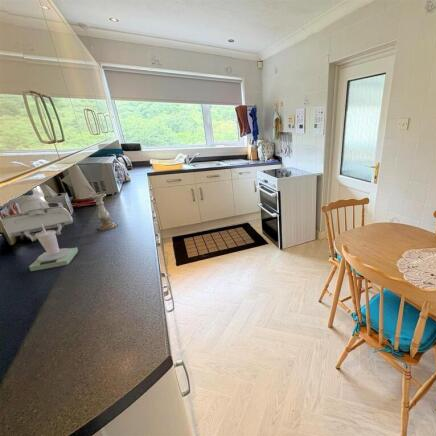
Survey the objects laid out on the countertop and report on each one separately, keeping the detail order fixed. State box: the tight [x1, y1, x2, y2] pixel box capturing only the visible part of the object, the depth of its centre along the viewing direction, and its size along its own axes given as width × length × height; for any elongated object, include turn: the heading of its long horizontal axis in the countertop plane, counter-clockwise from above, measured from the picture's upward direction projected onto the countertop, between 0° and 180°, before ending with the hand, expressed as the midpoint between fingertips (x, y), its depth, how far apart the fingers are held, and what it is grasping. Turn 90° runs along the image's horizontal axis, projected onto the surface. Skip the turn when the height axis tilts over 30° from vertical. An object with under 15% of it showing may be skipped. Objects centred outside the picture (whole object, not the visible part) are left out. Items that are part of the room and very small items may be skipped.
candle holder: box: [88, 192, 117, 231], centre depth 134 cm, size 9×9×20 cm
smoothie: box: [34, 223, 60, 254], centre depth 101 cm, size 6×6×14 cm
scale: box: [28, 246, 79, 272], centre depth 103 cm, size 12×13×3 cm
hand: (47, 237), depth 100 cm, fingers closed on smoothie, 6 cm apart
